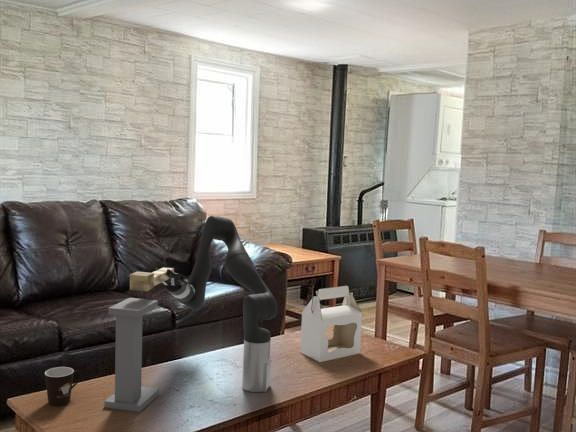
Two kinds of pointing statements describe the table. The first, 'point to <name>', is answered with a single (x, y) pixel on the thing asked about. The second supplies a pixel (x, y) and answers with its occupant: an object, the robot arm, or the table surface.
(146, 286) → the beech bar
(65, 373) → the coffee mug
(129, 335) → the grey stand
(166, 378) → the table surface
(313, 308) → the gable box
